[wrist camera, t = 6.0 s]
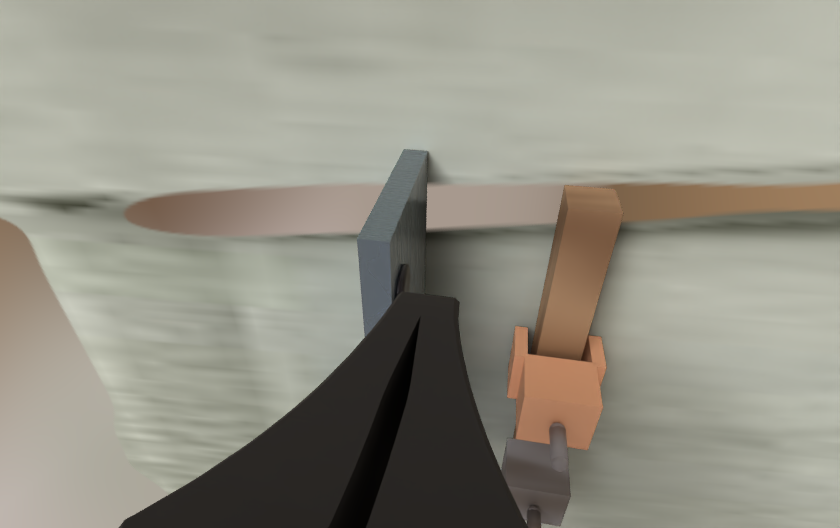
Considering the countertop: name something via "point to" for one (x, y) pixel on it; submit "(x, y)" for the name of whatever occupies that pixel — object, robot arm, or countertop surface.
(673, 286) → the countertop surface
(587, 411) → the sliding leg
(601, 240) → the trammel beam
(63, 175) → the countertop surface
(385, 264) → the flange plate
